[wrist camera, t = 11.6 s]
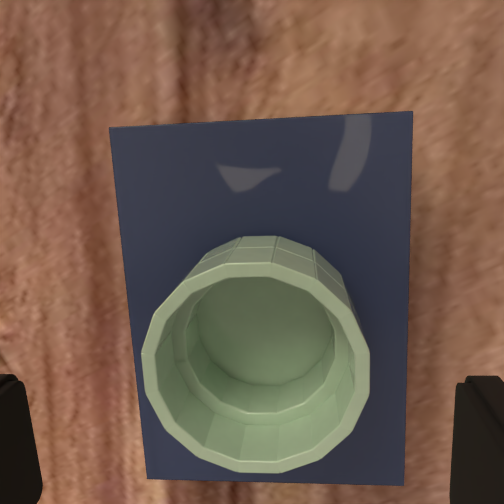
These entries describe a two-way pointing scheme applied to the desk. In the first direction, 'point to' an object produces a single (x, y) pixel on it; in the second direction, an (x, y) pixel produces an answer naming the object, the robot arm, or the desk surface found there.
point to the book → (278, 224)
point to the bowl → (258, 357)
